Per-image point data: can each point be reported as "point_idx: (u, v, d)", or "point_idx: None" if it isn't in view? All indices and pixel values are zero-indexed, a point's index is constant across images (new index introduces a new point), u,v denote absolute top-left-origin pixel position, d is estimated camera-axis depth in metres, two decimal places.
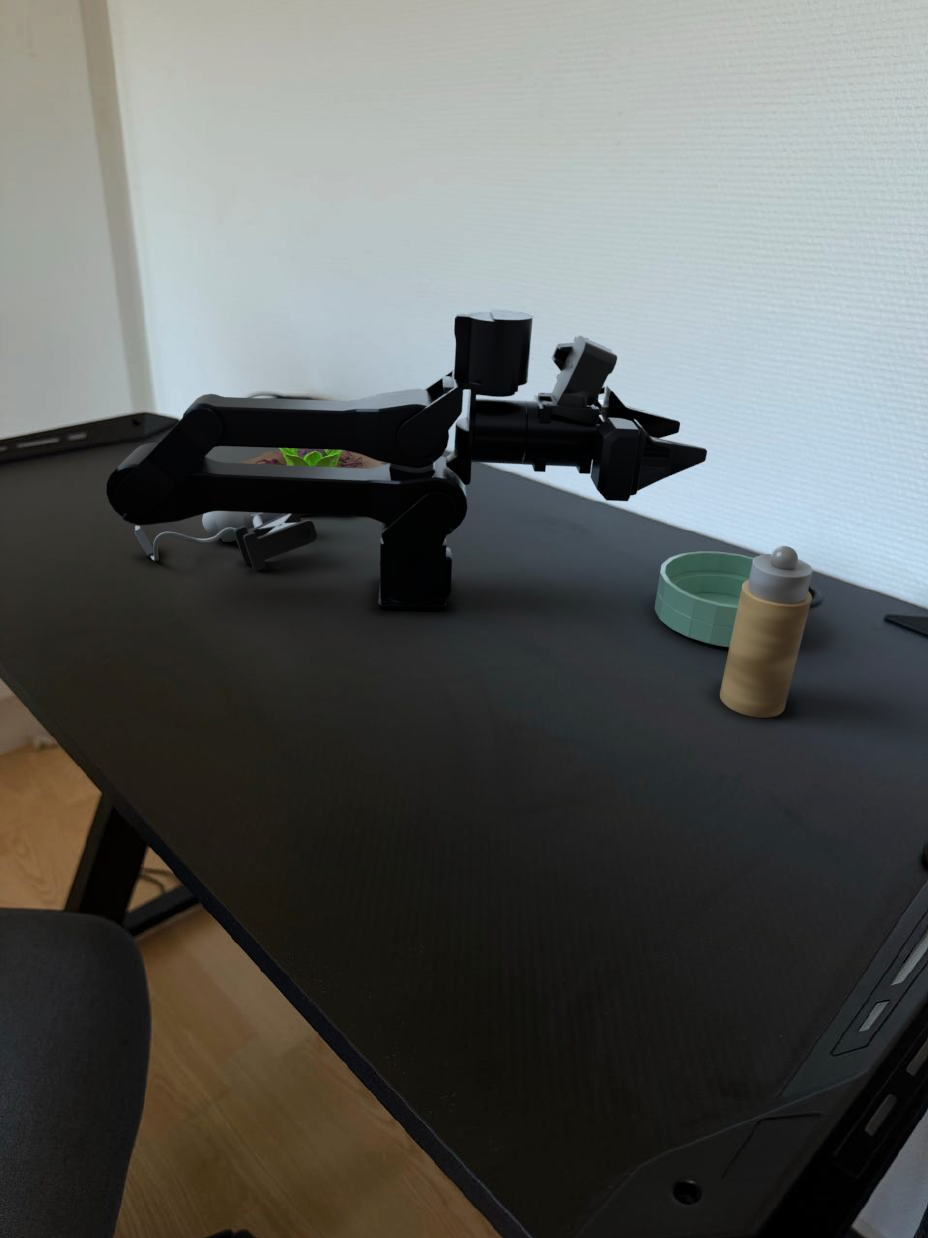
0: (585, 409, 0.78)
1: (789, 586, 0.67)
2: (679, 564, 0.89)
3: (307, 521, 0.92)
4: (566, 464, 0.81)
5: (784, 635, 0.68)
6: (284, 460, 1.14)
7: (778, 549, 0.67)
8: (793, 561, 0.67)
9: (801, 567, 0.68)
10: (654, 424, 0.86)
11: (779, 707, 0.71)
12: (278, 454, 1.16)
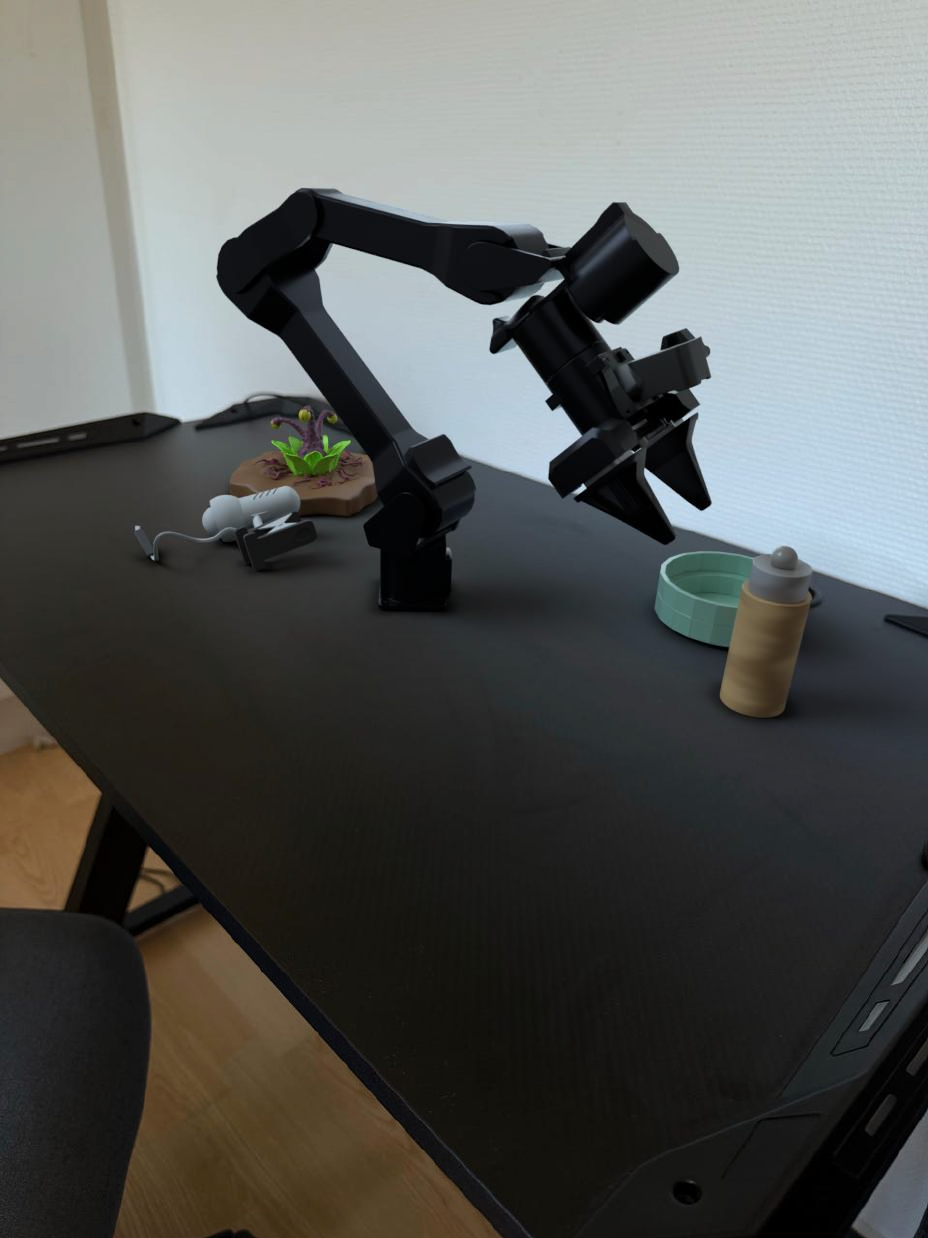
0: (627, 396, 0.67)
1: (789, 586, 0.67)
2: (679, 564, 0.89)
3: (307, 521, 0.92)
4: (575, 425, 0.71)
5: (784, 635, 0.68)
6: (284, 460, 1.14)
7: (778, 549, 0.67)
8: (793, 561, 0.67)
9: (801, 567, 0.68)
10: (690, 483, 0.74)
11: (779, 707, 0.71)
12: (278, 454, 1.16)
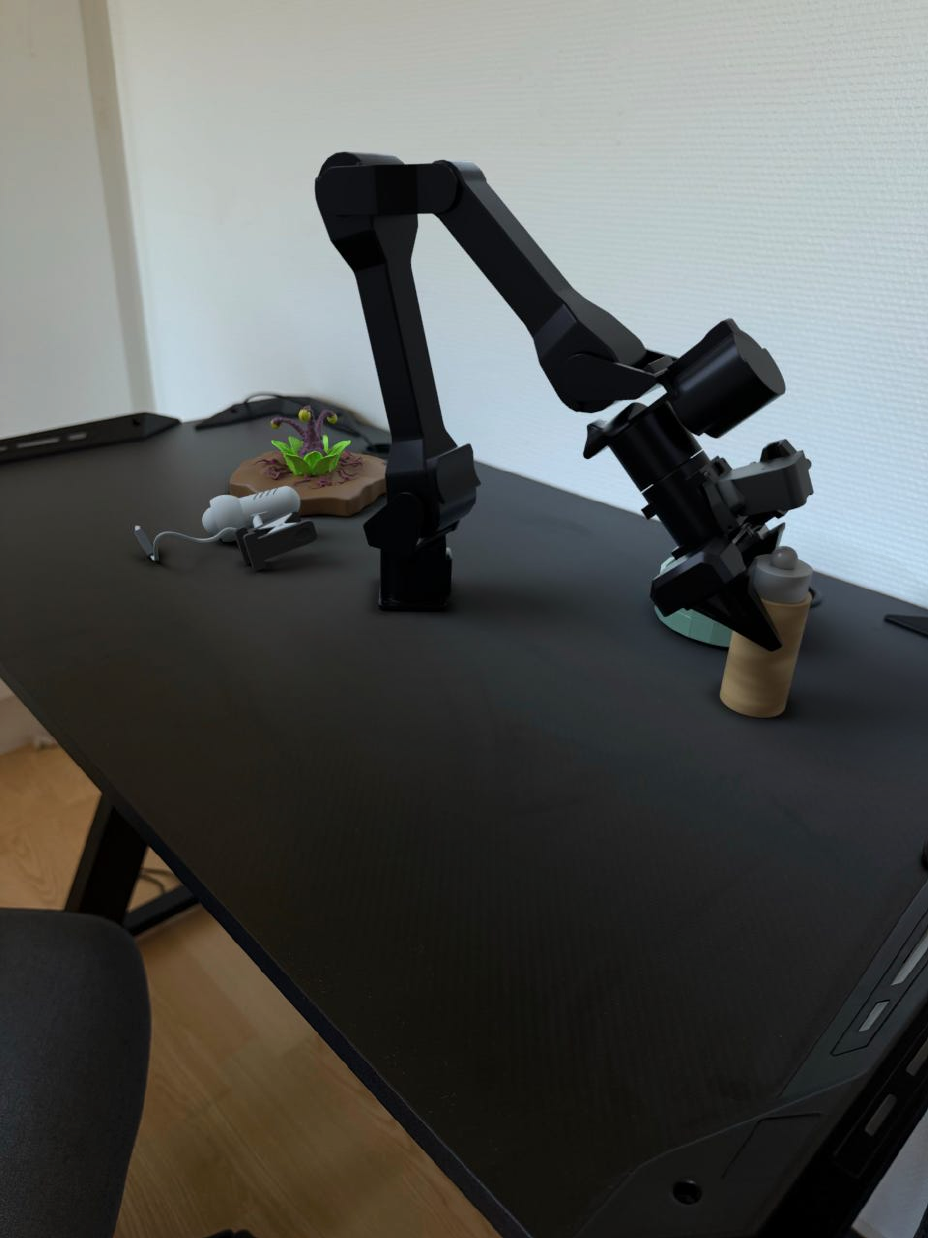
0: (729, 513, 0.66)
1: (789, 586, 0.67)
2: None
3: (307, 521, 0.92)
4: (670, 534, 0.70)
5: (784, 635, 0.68)
6: (284, 460, 1.14)
7: (778, 549, 0.67)
8: (793, 561, 0.67)
9: (801, 567, 0.68)
10: None
11: (779, 707, 0.71)
12: (278, 454, 1.16)
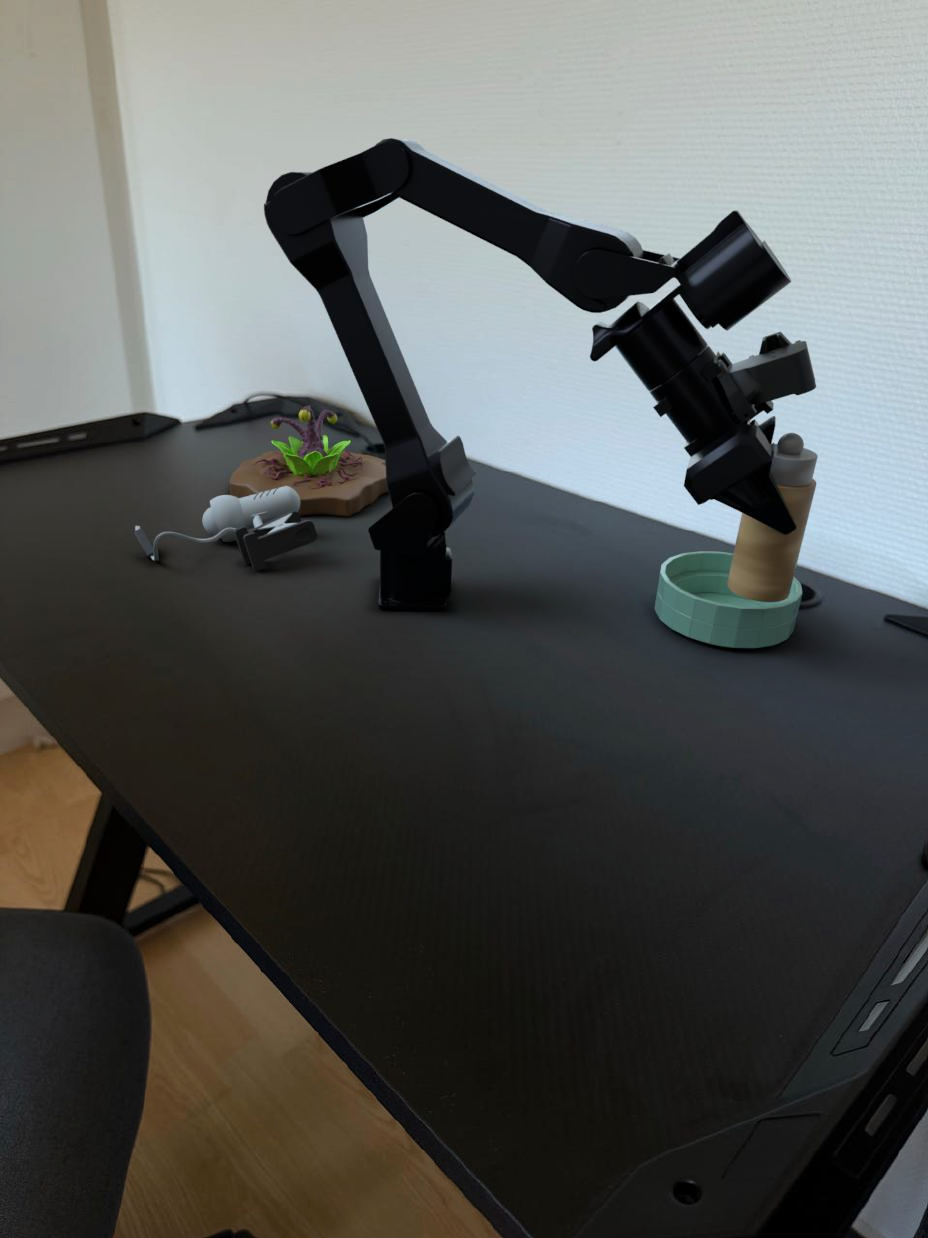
0: (745, 401, 0.68)
1: (801, 469, 0.70)
2: (679, 564, 0.89)
3: (307, 521, 0.92)
4: (682, 430, 0.72)
5: (796, 518, 0.72)
6: (284, 460, 1.14)
7: (786, 436, 0.71)
8: (801, 446, 0.71)
9: (806, 452, 0.72)
10: None
11: (788, 590, 0.75)
12: (278, 454, 1.16)
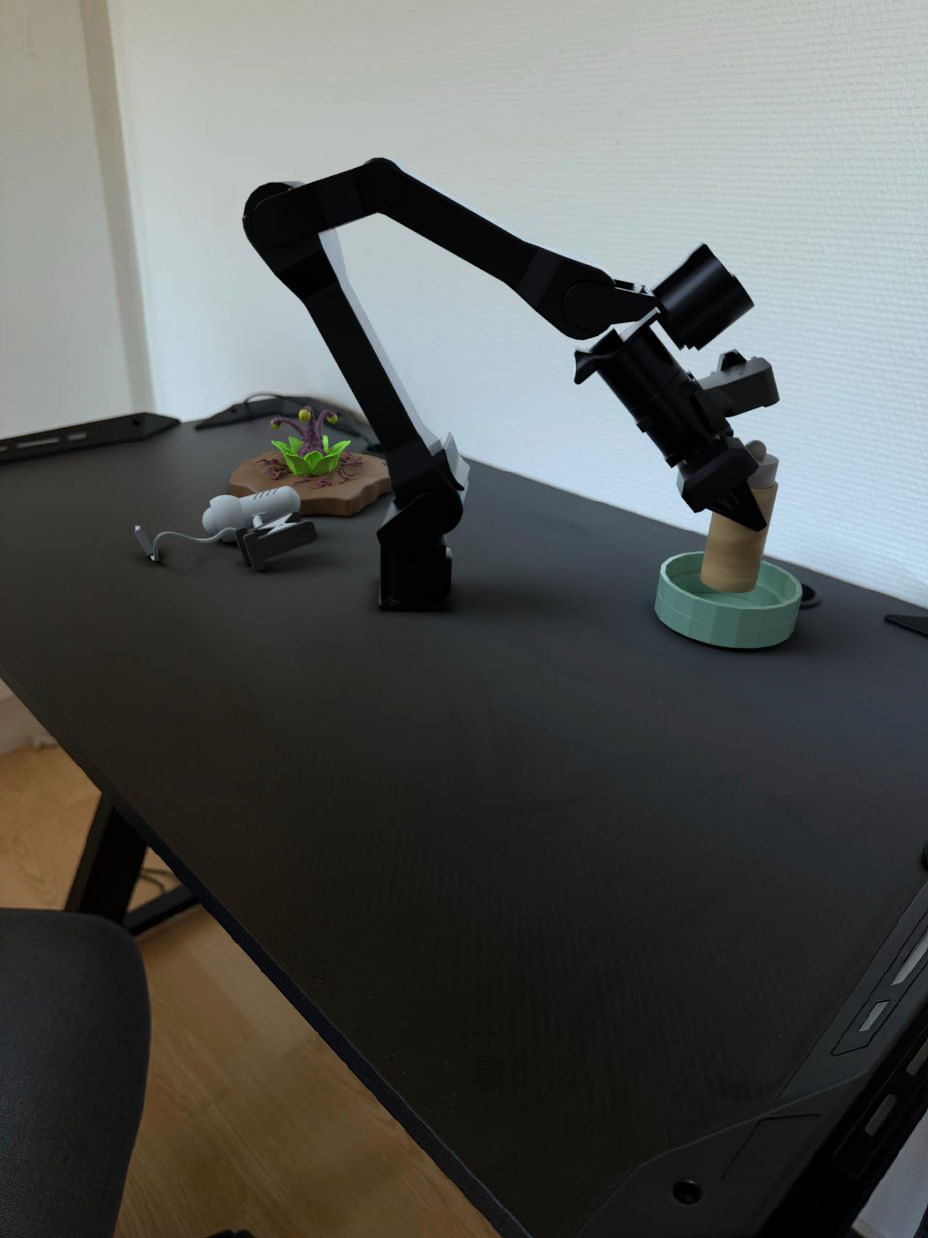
0: (721, 415, 0.75)
1: (768, 472, 0.78)
2: (679, 564, 0.89)
3: (307, 521, 0.92)
4: (661, 444, 0.78)
5: (765, 516, 0.79)
6: (284, 460, 1.14)
7: (751, 443, 0.78)
8: (765, 451, 0.78)
9: (767, 456, 0.80)
10: None
11: (756, 581, 0.83)
12: (278, 454, 1.16)
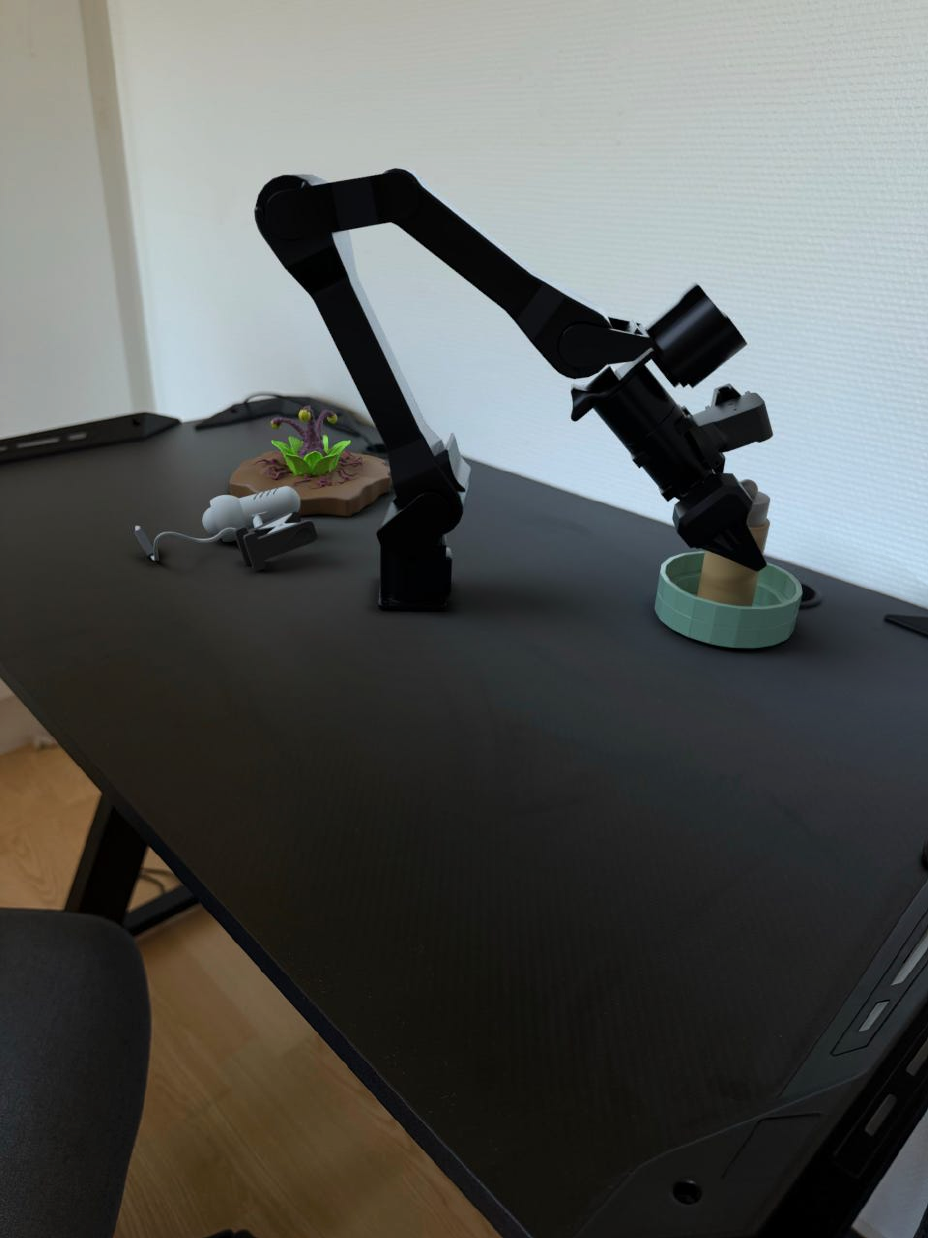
0: (716, 450, 0.76)
1: (760, 511, 0.80)
2: (679, 564, 0.89)
3: (307, 521, 0.92)
4: (657, 478, 0.79)
5: None
6: (284, 460, 1.14)
7: (743, 482, 0.80)
8: (756, 490, 0.80)
9: (759, 495, 0.81)
10: None
11: None
12: (278, 454, 1.16)
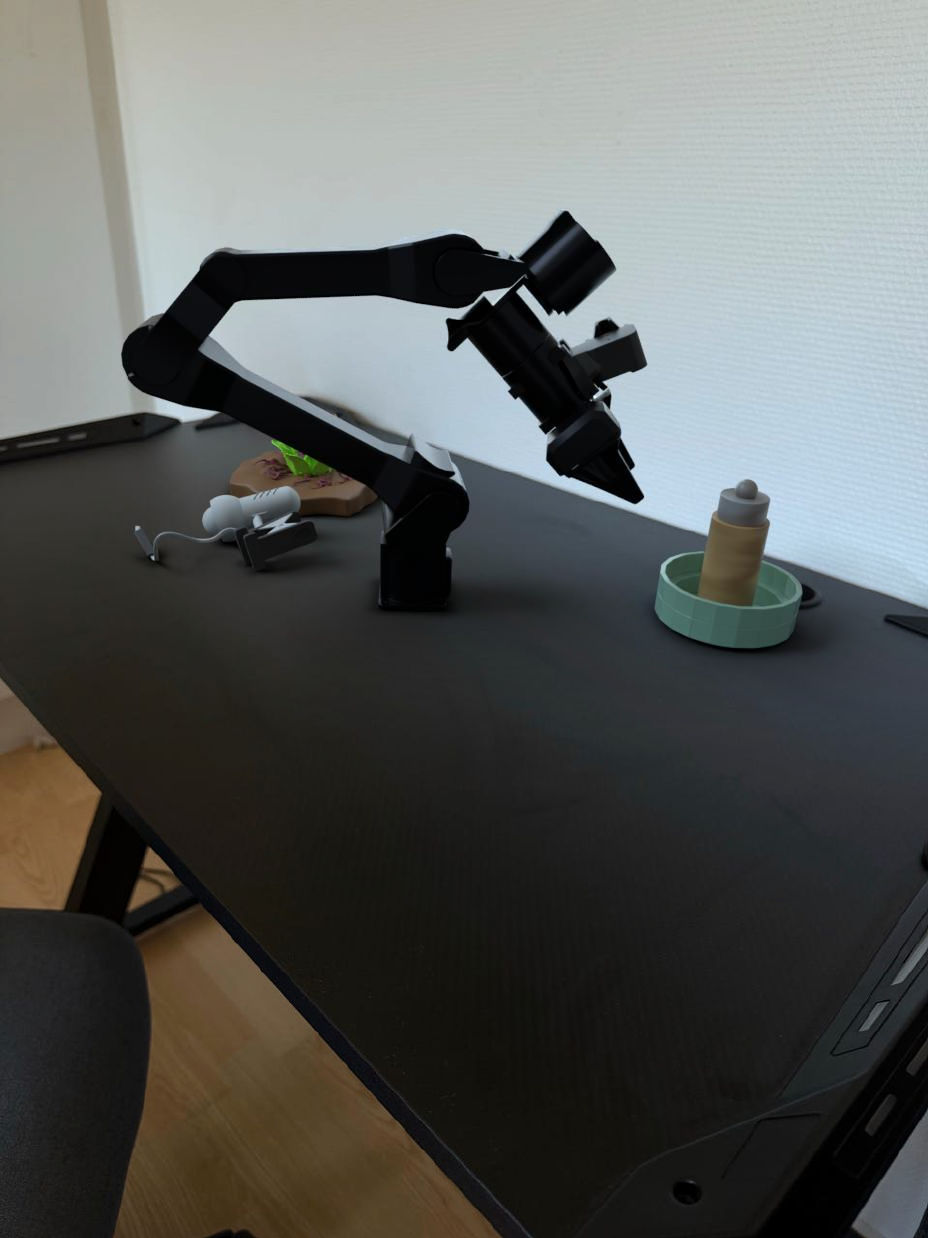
0: (589, 380, 0.76)
1: (760, 511, 0.80)
2: (679, 564, 0.89)
3: (307, 521, 0.92)
4: (534, 410, 0.79)
5: (757, 553, 0.81)
6: (284, 460, 1.14)
7: (743, 482, 0.80)
8: (756, 490, 0.80)
9: (759, 495, 0.81)
10: None
11: None
12: (278, 454, 1.16)
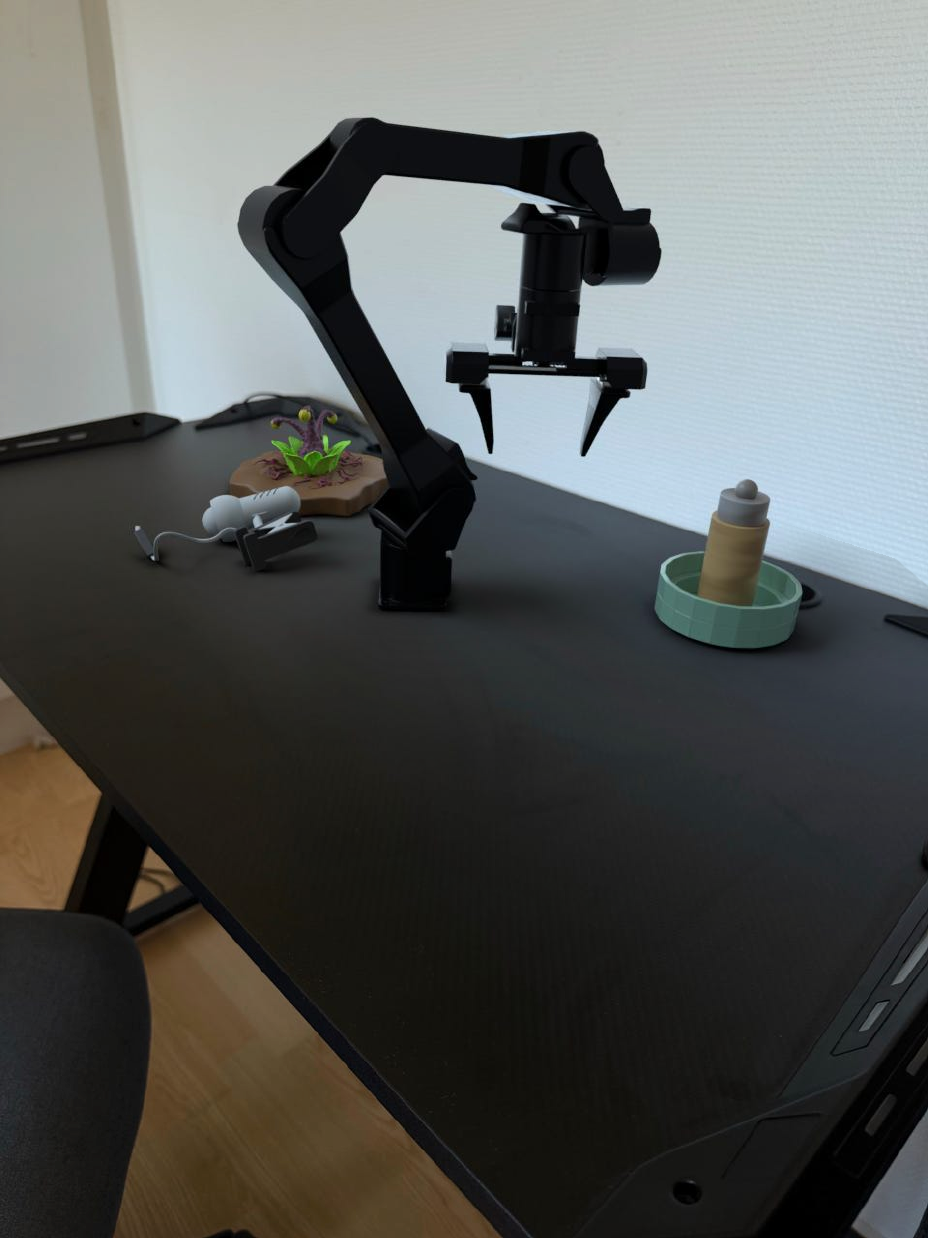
0: None
1: (760, 511, 0.80)
2: (679, 564, 0.89)
3: (307, 521, 0.92)
4: (568, 337, 0.81)
5: (757, 553, 0.81)
6: (284, 460, 1.14)
7: (743, 482, 0.80)
8: (756, 490, 0.80)
9: (759, 495, 0.81)
10: None
11: None
12: (278, 454, 1.16)
